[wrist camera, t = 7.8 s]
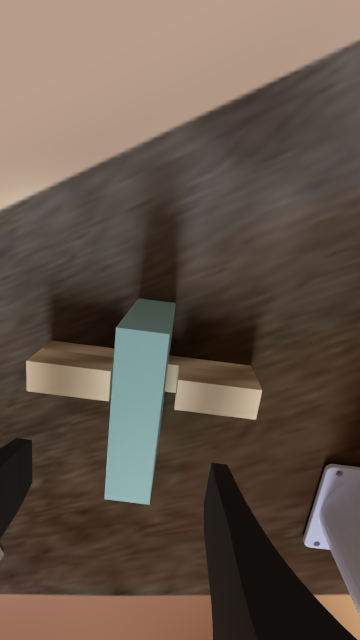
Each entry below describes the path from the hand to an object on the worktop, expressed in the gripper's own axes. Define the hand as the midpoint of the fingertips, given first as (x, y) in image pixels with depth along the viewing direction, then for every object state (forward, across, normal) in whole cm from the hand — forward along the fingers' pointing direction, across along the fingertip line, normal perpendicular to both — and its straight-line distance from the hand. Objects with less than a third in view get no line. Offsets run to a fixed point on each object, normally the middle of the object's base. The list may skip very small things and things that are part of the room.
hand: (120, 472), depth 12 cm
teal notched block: (+10, 0, 0) cm, 10 cm away
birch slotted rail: (+10, 0, 0) cm, 10 cm away
